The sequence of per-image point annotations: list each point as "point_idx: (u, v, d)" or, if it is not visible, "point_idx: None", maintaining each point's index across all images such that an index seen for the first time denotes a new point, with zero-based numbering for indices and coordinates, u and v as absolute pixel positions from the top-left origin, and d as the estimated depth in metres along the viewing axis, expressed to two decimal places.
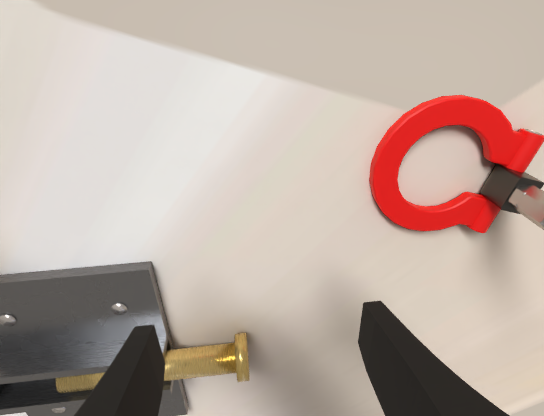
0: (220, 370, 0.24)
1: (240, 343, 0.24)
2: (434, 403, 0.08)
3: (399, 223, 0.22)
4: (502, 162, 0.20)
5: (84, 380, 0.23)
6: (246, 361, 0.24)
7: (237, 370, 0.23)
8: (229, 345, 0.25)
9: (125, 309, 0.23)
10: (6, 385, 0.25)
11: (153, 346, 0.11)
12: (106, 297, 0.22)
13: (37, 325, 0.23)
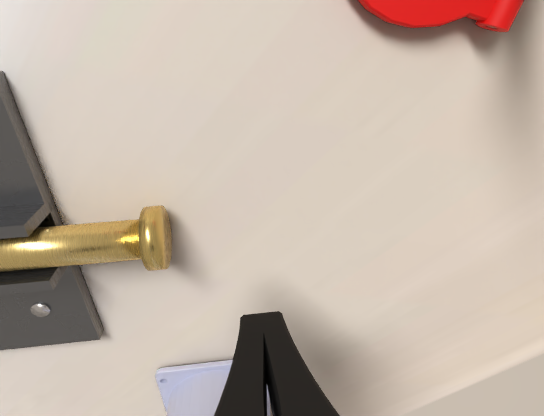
0: (119, 250, 0.17)
1: (149, 212, 0.17)
2: None
3: (377, 9, 0.14)
4: None
5: None
6: (154, 233, 0.16)
7: (141, 246, 0.16)
8: (137, 219, 0.17)
9: None
10: None
11: None
12: None
13: None
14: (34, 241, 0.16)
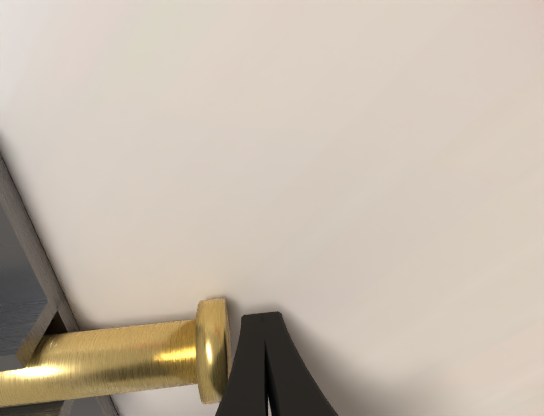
0: (163, 378, 0.11)
1: (209, 318, 0.11)
2: None
3: None
4: None
5: None
6: (221, 358, 0.10)
7: (200, 379, 0.10)
8: (187, 323, 0.11)
9: None
10: None
11: None
12: None
13: None
14: (31, 368, 0.10)
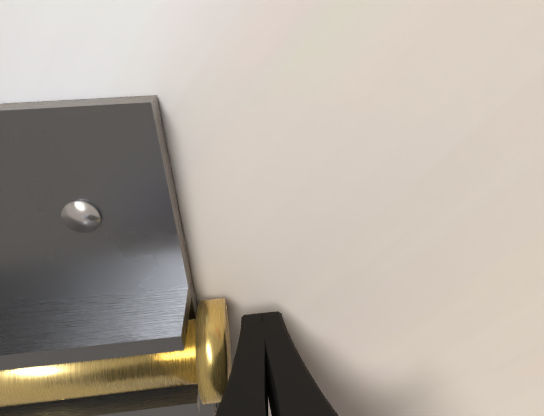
0: (163, 378, 0.11)
1: (209, 318, 0.11)
2: None
3: None
4: None
5: None
6: (221, 358, 0.10)
7: (200, 379, 0.10)
8: None
9: (95, 217, 0.10)
10: None
11: None
12: (48, 183, 0.09)
13: None
14: (30, 368, 0.10)
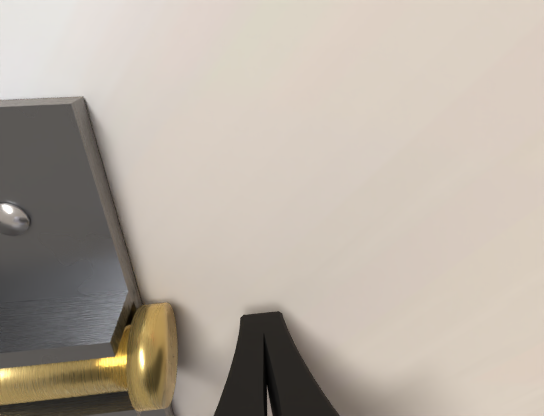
0: (97, 385, 0.10)
1: (144, 323, 0.10)
2: None
3: None
4: None
5: None
6: (152, 365, 0.10)
7: (130, 386, 0.10)
8: (125, 328, 0.11)
9: (24, 220, 0.10)
10: None
11: None
12: None
13: None
14: None
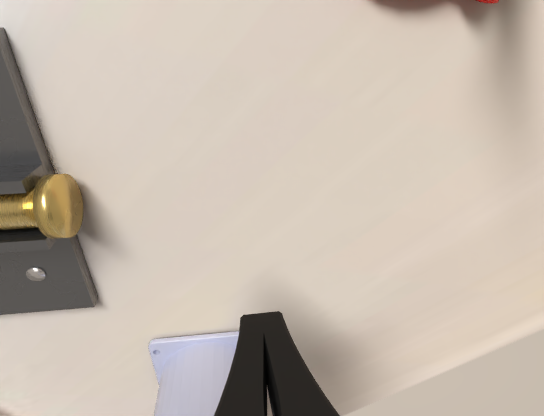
0: (17, 216, 0.16)
1: (48, 178, 0.17)
2: None
3: None
4: None
5: None
6: (49, 199, 0.16)
7: (35, 211, 0.16)
8: None
9: None
10: None
11: None
12: None
13: None
14: None
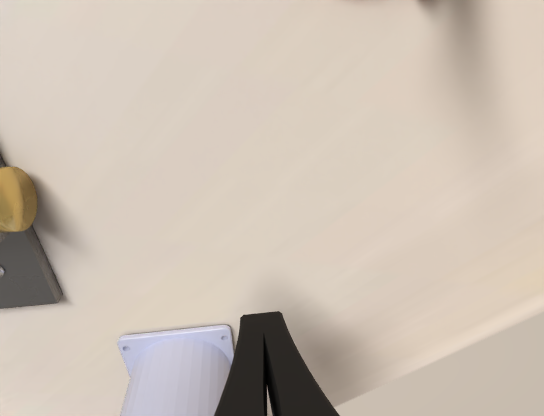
0: None
1: None
2: None
3: None
4: None
5: None
6: None
7: None
8: None
9: None
10: None
11: None
12: None
13: None
14: None
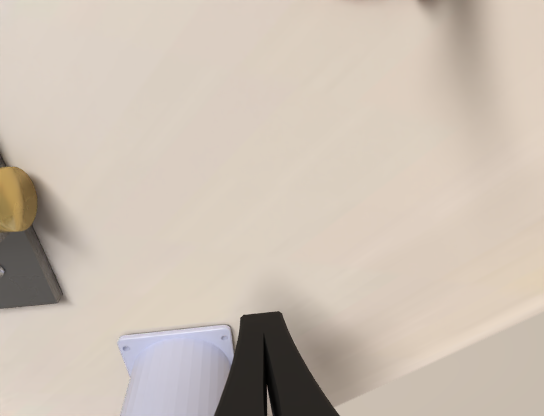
0: None
1: None
2: None
3: None
4: None
5: None
6: None
7: None
8: None
9: None
10: None
11: None
12: None
13: None
14: None
